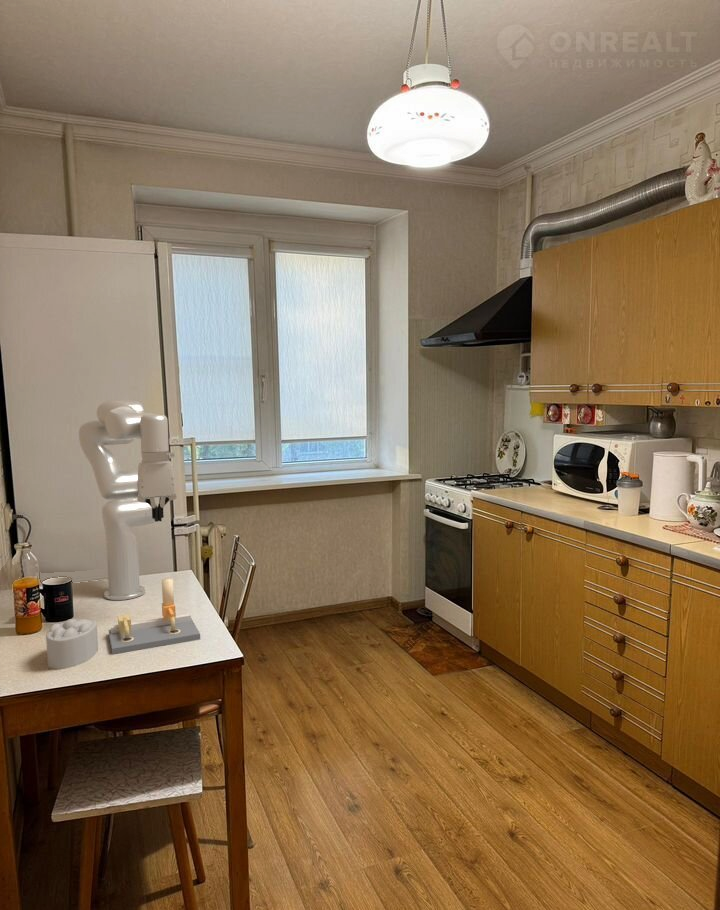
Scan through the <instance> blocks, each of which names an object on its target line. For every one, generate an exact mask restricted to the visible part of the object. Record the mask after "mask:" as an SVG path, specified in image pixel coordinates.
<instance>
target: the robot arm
mask: <svg viewBox="0 0 720 910" xmlns="http://www.w3.org/2000/svg"><path fill="white" fill-rule="evenodd" d="M145 411H146V410H145V408H144V405H143V404H142V402H139V401H138V400H135V399H119V400H117V399H116V400H115V399H114V400H113V399H111V400H106V401H104V402H102V403H100V404H99V405H98V407H97V408H96V417H97V419H98V420H91V421H87V422H85V423H83V424H82V425H80V427H79V429H78V441H79V444H80V447H81V451H82V452H83V454H84V456H85V457H86V459H87V460H88V462H89V464H90V465H91V469H92V471H93V473H94V478H95V481H96V484H97V485H96V486H97V488H98V490H99V493H100V495H101V498H103V499H106V500H109V501H107V502H106V503H105V504H104V505H103V507H102V508H101V518H102V521H103V527H104V531H105V541H106V542H105V543H106V556H107V557H106V558H107V559H106V560H107V561H106V562H107V577H108V578H107V580H108V589H107V590H105V591H104V592H103V597H104V598H105V599H106V600H107V599H108V600H112V601H124V600H131V599H132V600H133V599H135V598H138V597H141V596H142V595H144V594H145V593H146V588H145V587H144V586H143V585H140V584H141V583H140V581H141V580H140V564H139V562H140V561H139V560H140V559H139V542H138V539H137V537H136V535H135V534H134V533H133V532H132V531H131V530H130V529H131V528H134V527H141V526H146V525H151V524H154V523H158V522H162V521H163V520H162V519H163V518H164V517H165V516H164V507H165V506H166V505H167V504H168V503H169V502H170V501H173V500H176V499H177V494H176V480H175V472H174V467H173V463H172V461H170V459H172V458H175V453H174V452H170V447H169V446H170V445H169V426H168V425H169V424H168V423H169V421H168V417H167V416H166V415H165V414H158V413H156V412H154V413H153V412H145ZM139 439H140V454H141V455H140V457H141V462H138V465H137V468H131V469H124V468H122V467H121V465H120V461H119V458H118V457H117V456H116V455H115V454H114V452H112V451H111V450H109V449H107V448H106V447H105V446H117V445H128V444H131V443H132V442H133V441H135V440H139ZM156 498H159V499H158V502H157V499H156Z"/></svg>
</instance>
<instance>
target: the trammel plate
mask: <svg viewBox="0 0 720 910" xmlns="http://www.w3.org/2000/svg"><path fill="white" fill-rule="evenodd" d="M108 637H109V643H110V649H111V653H112V655H116V654H122V653H123V654H124V653H128V652H135V651H140V650H145V649H151V648H156V647H157V648H159V647H163V646H169V645H174V644H180V643H185V642H191V641H197V640H201V633H200V631H199V629H198V627H197V626H196V623H195V622H194V620H193V619H192V617H191V614H190V613H187V614H180V615H179V614H178V615H176V619H175V631H171V619H170V620H164V618H163V617H160V618H159V617H158V618H154V619H153V618H152V619H147V620H142V621H135V622H134V621H133V622H132V619H131V616H130V614H129V613H128V614H123V615H117V624H116V625H110V629H108Z"/></svg>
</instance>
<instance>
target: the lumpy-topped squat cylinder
mask: <svg viewBox="0 0 720 910" xmlns="http://www.w3.org/2000/svg"><path fill="white" fill-rule="evenodd" d="M45 643H46V657H47V666H48V667H49V668H51V669H53V670H65V669H69V668H74V667H77V666H80V665H82V664H84V663H87V662H89V661H90V660H91V659H92V658H94V657H95V655H96V654H97V653H98V652H99V638H98V624H97V622H96V621H95V620H89V619H85V618H83V619H82V618H81V619H76V618H73V619H72V618H70V619H67V620H66V621H64V622H61V623H57V622H56V623H54V624H52V625H51V626H50V627H49V631H47V632H46V636H45Z"/></svg>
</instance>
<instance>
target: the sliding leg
mask: <svg viewBox="0 0 720 910" xmlns="http://www.w3.org/2000/svg"><path fill="white" fill-rule="evenodd" d="M161 590H162V591H161V592H162V594H161V595H162V596H161V597H162V602H161V614H162V618H164V620H170V619H171V631H175V619H176V616H177V615H176V612H177V611H176V604H175V593H174V579H173V578H172V577H171V578H170V577H168V578H164V579H162V580H161Z"/></svg>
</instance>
